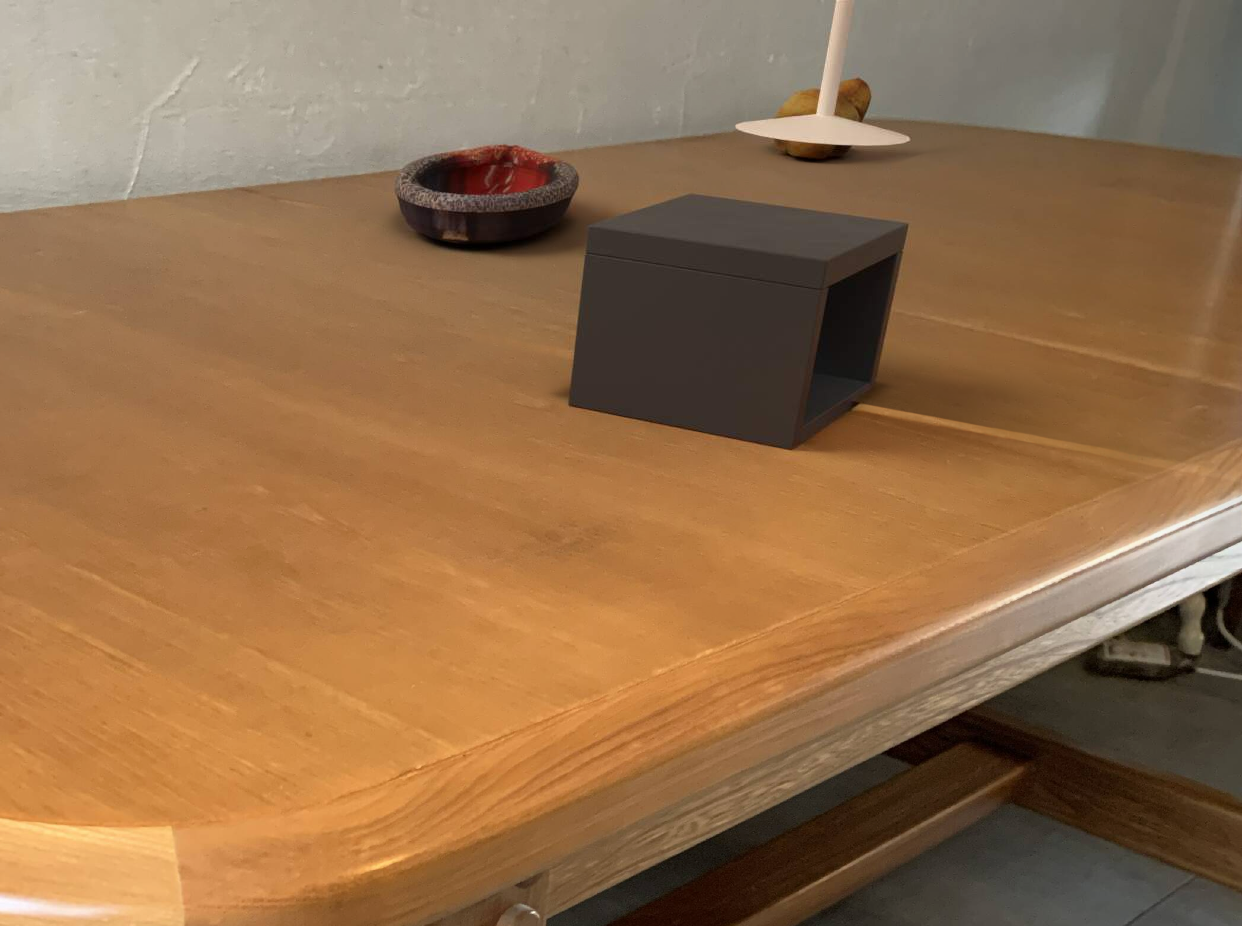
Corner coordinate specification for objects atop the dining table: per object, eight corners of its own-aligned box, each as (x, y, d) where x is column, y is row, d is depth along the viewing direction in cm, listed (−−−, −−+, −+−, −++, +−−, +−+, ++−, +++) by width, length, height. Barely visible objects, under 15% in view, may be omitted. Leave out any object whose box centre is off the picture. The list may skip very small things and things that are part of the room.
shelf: (873, 395, 105) (909, 223, 100) (791, 450, 94) (827, 260, 89) (666, 357, 111) (689, 193, 106) (567, 405, 100) (587, 224, 95)
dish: (355, 245, 138) (357, 179, 136) (441, 189, 163) (444, 132, 160) (539, 263, 135) (546, 196, 132) (599, 204, 160) (605, 146, 157)
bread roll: (833, 166, 187) (848, 85, 182) (750, 157, 191) (762, 77, 186) (865, 154, 196) (880, 77, 192) (784, 145, 200) (797, 69, 196)
